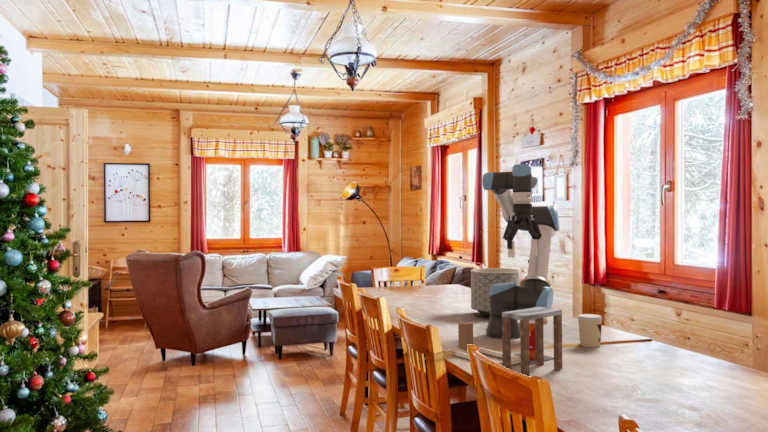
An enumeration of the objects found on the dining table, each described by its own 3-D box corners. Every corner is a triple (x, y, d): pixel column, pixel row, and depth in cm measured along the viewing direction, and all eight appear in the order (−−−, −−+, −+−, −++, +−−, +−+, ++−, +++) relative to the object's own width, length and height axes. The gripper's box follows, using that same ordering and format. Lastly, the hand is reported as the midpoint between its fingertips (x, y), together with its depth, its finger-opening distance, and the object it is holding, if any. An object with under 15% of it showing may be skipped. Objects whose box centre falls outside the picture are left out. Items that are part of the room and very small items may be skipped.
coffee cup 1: (517, 355, 225) (516, 316, 225) (538, 354, 226) (537, 315, 226) (525, 361, 216) (524, 320, 216) (546, 360, 217) (546, 319, 217)
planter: (522, 312, 322) (521, 268, 322) (516, 320, 298) (516, 273, 298) (475, 310, 330) (475, 267, 330) (467, 318, 307) (466, 272, 307)
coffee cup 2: (604, 348, 237) (603, 317, 237) (579, 347, 239) (579, 317, 239) (600, 343, 246) (600, 313, 246) (576, 342, 248) (576, 313, 248)
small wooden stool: (502, 372, 203) (501, 312, 203) (539, 363, 214) (538, 306, 214) (525, 378, 195) (524, 316, 195) (562, 369, 206) (561, 310, 206)
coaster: (504, 357, 223) (504, 356, 223) (527, 352, 231) (527, 351, 231) (531, 364, 213) (531, 363, 213) (554, 358, 221) (554, 358, 221)
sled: (450, 354, 229) (450, 324, 229) (474, 349, 236) (473, 320, 236) (499, 367, 208) (499, 334, 208) (523, 361, 216) (523, 330, 215)
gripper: (508, 202, 228) (508, 258, 228) (550, 202, 242) (550, 255, 242) (493, 203, 234) (494, 257, 234) (535, 203, 248) (536, 254, 248)
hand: (523, 256), depth 238 cm, fingers open, 13 cm apart
